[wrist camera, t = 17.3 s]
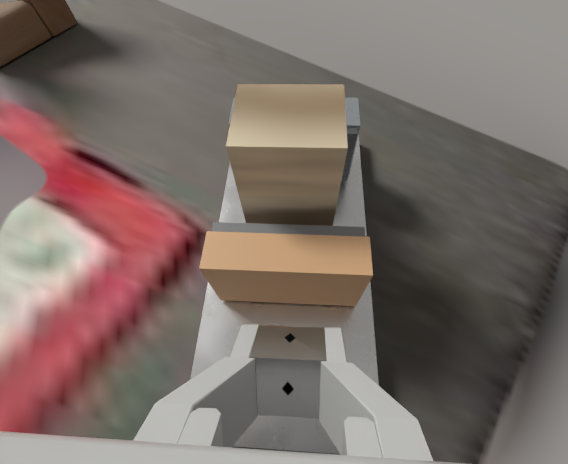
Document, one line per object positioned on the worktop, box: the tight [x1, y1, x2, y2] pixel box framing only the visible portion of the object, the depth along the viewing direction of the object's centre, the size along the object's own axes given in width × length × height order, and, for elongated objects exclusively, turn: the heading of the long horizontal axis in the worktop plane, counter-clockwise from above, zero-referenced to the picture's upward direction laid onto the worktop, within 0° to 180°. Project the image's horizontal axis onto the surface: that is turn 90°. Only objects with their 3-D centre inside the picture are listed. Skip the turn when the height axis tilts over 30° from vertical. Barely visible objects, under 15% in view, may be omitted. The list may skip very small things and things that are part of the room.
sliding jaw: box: [199, 222, 373, 306], centre depth 17 cm, size 3×8×5 cm, turn 87°
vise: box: [190, 97, 379, 454], centre depth 19 cm, size 22×10×6 cm, turn 177°
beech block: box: [226, 84, 348, 226], centre depth 18 cm, size 4×5×9 cm
